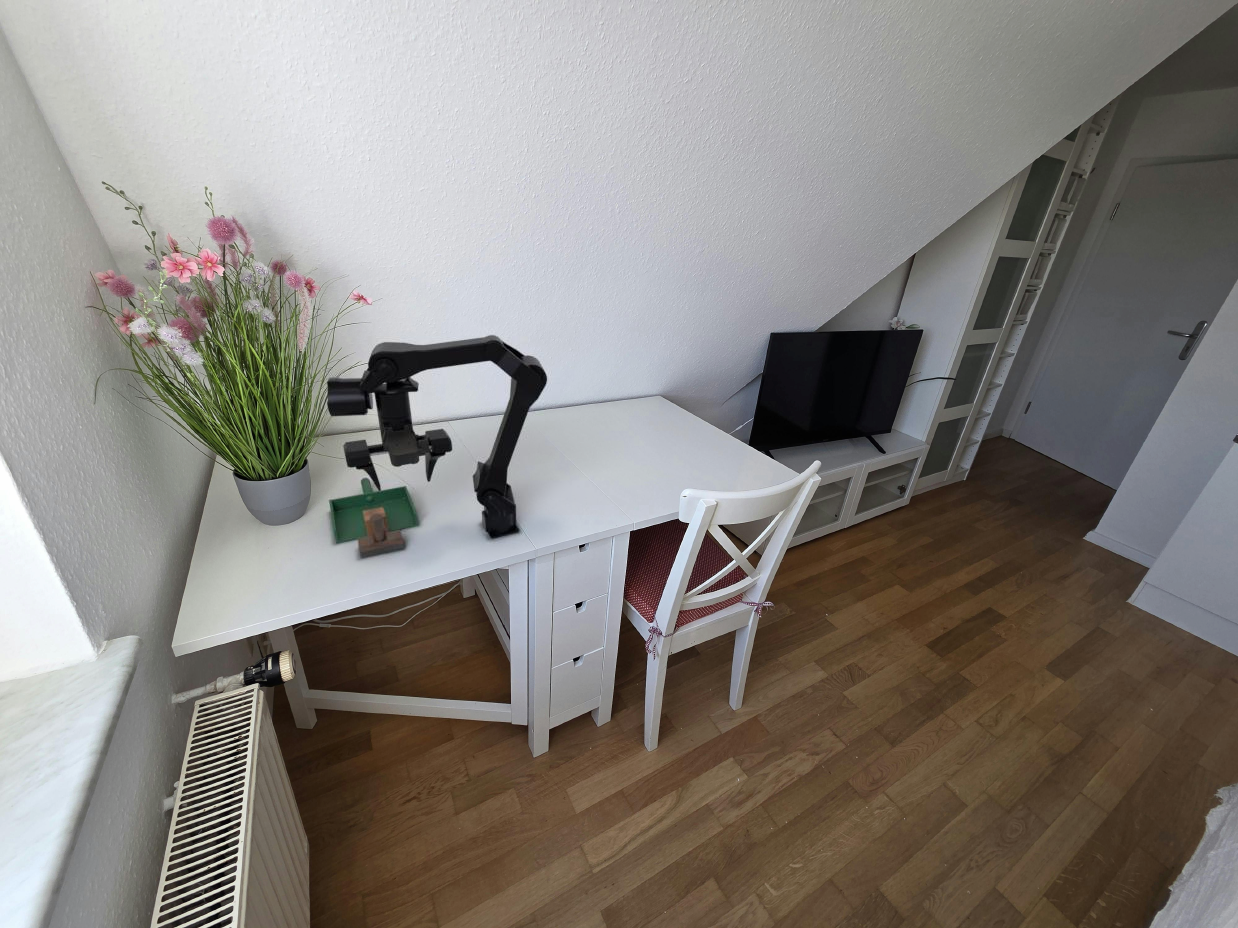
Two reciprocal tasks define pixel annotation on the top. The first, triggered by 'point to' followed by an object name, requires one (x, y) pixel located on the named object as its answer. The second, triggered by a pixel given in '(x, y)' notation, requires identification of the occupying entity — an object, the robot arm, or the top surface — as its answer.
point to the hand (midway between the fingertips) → (404, 485)
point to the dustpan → (352, 520)
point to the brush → (379, 539)
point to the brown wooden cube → (368, 514)
